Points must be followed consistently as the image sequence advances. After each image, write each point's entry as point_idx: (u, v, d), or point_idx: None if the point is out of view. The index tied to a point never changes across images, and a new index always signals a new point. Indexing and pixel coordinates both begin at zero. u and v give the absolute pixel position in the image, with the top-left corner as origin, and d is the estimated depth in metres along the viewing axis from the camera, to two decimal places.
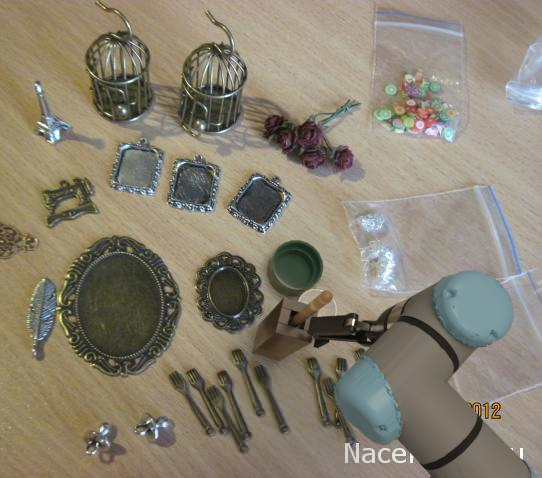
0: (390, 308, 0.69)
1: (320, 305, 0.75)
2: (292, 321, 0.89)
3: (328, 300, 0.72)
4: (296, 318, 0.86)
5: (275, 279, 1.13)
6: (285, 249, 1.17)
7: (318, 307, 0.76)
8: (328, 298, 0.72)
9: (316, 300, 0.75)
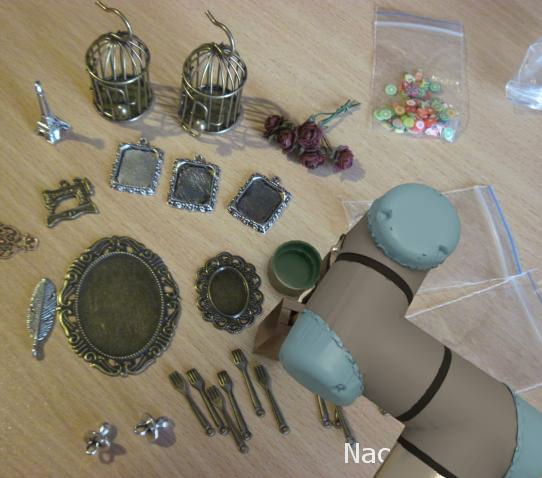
0: None
1: None
2: (292, 321, 0.89)
3: None
4: (296, 318, 0.86)
5: (275, 279, 1.13)
6: (285, 249, 1.17)
7: None
8: None
9: None
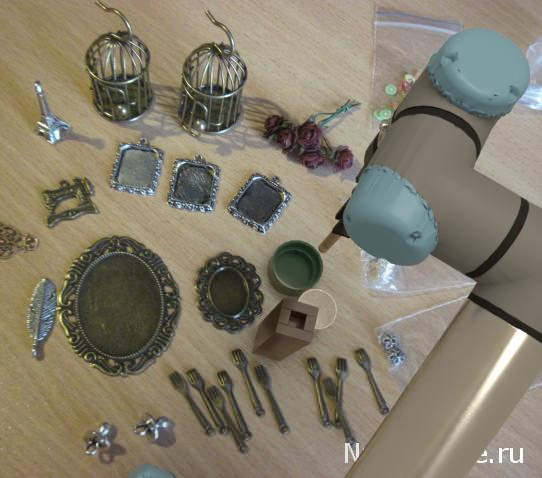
0: None
1: None
2: (323, 244, 0.87)
3: None
4: (328, 238, 0.84)
5: (275, 279, 1.13)
6: (285, 249, 1.17)
7: None
8: None
9: None
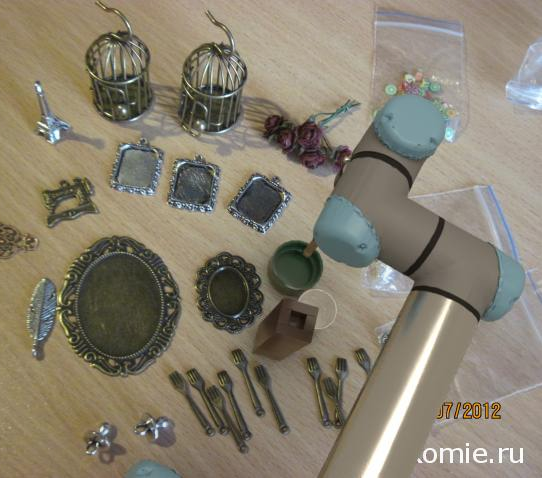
0: None
1: None
2: (307, 249, 1.03)
3: None
4: (310, 244, 1.00)
5: (275, 279, 1.13)
6: (285, 249, 1.17)
7: None
8: None
9: None
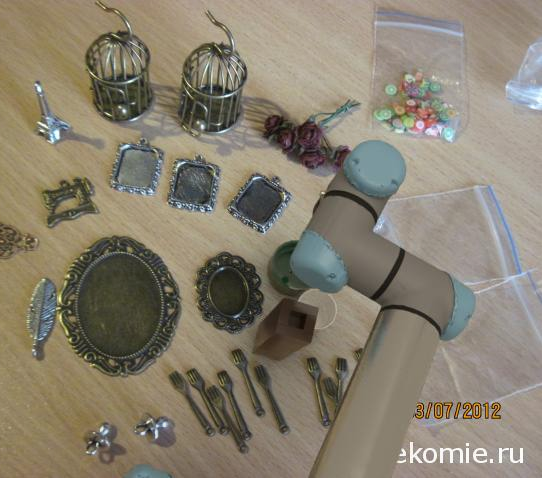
0: None
1: None
2: None
3: None
4: None
5: (275, 279, 1.13)
6: (285, 249, 1.17)
7: None
8: None
9: None
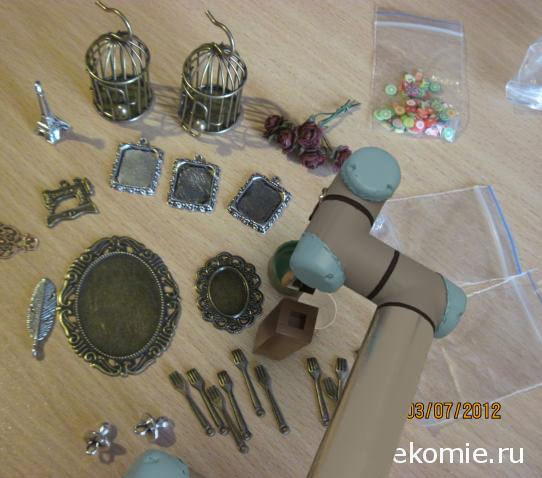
0: None
1: None
2: None
3: (286, 285, 0.97)
4: None
5: (275, 279, 1.13)
6: (285, 249, 1.17)
7: None
8: (285, 284, 0.97)
9: None
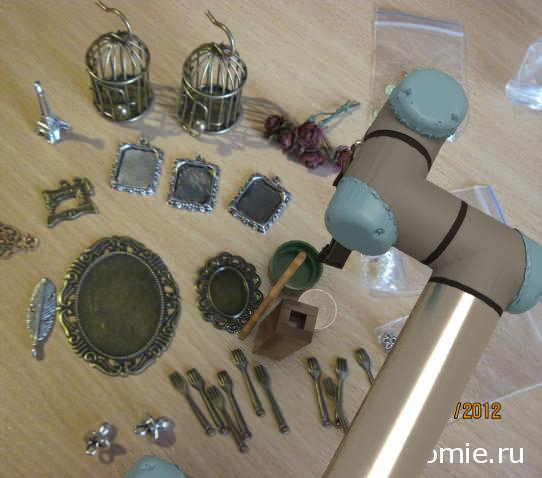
0: None
1: None
2: None
3: None
4: None
5: (275, 279, 1.13)
6: (285, 249, 1.17)
7: None
8: None
9: None
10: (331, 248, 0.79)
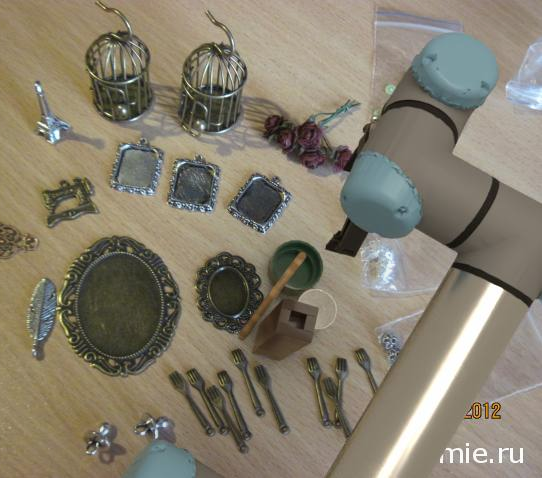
0: None
1: None
2: None
3: None
4: None
5: (275, 279, 1.13)
6: (285, 249, 1.17)
7: None
8: None
9: None
10: (343, 235, 0.74)
